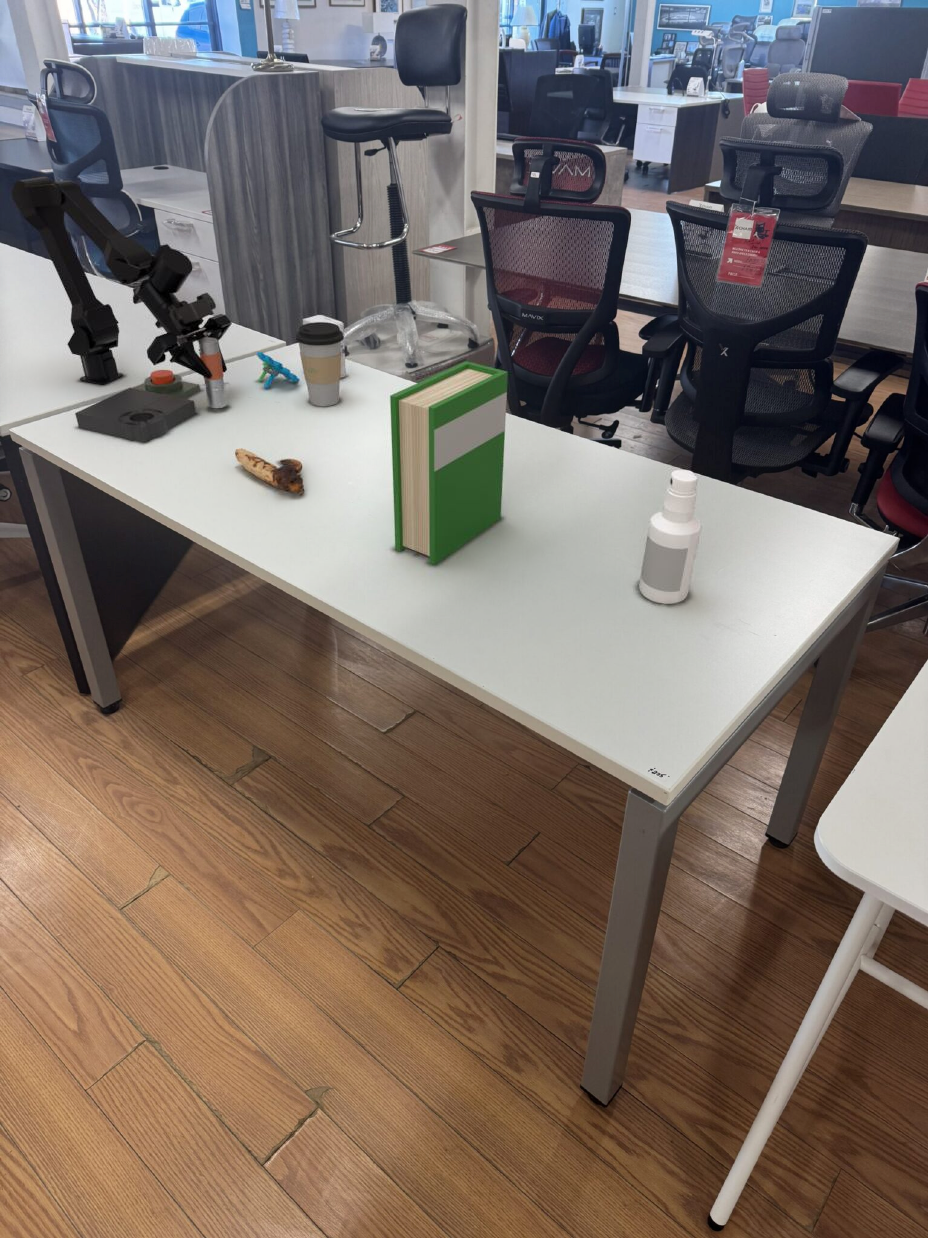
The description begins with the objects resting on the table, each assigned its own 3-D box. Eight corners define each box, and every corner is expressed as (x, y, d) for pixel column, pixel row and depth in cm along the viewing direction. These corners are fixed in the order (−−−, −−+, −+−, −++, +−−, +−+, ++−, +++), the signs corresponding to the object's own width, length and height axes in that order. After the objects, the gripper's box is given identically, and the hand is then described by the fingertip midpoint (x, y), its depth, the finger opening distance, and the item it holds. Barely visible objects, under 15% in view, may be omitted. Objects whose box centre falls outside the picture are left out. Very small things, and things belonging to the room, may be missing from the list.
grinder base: (77, 428, 162) (73, 413, 160) (132, 401, 173) (129, 387, 171) (147, 443, 156) (144, 428, 155) (199, 415, 168) (197, 400, 166)
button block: (130, 396, 175) (126, 382, 174) (159, 382, 182) (156, 368, 180) (172, 405, 172) (170, 390, 170) (200, 390, 179) (198, 376, 177)
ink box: (305, 372, 189) (300, 318, 182) (323, 366, 192) (319, 313, 185) (330, 381, 184) (326, 327, 178) (348, 376, 187) (344, 322, 181)
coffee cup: (293, 405, 173) (285, 331, 164) (316, 390, 180) (310, 318, 171) (333, 412, 170) (328, 337, 162) (355, 396, 177) (351, 324, 169)
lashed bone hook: (331, 488, 144) (269, 453, 154) (330, 462, 142) (267, 428, 151) (285, 504, 139) (224, 466, 148) (284, 478, 136) (221, 441, 146)
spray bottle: (633, 578, 122) (651, 464, 111) (679, 577, 122) (702, 463, 112) (645, 605, 116) (666, 487, 106) (693, 604, 117) (719, 486, 106)
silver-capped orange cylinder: (204, 411, 168) (193, 345, 160) (203, 400, 172) (192, 336, 164) (233, 408, 169) (223, 343, 161) (231, 398, 173) (222, 334, 166)
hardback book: (434, 565, 124) (434, 408, 110) (395, 549, 127) (390, 395, 113) (500, 518, 136) (507, 371, 122) (463, 505, 139) (465, 360, 125)
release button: (147, 383, 175) (146, 374, 174) (161, 376, 178) (160, 368, 177) (164, 386, 173) (163, 378, 172) (178, 379, 176) (177, 371, 175)
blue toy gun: (308, 380, 180) (271, 352, 173) (293, 404, 180) (255, 376, 173) (287, 372, 188) (251, 345, 181) (273, 395, 188) (236, 368, 181)
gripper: (145, 292, 152) (202, 364, 154) (217, 271, 165) (268, 337, 167) (123, 329, 159) (177, 397, 161) (193, 306, 173) (242, 369, 175)
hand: (218, 374), depth 166 cm, fingers closed on silver-capped orange cylinder, 4 cm apart
